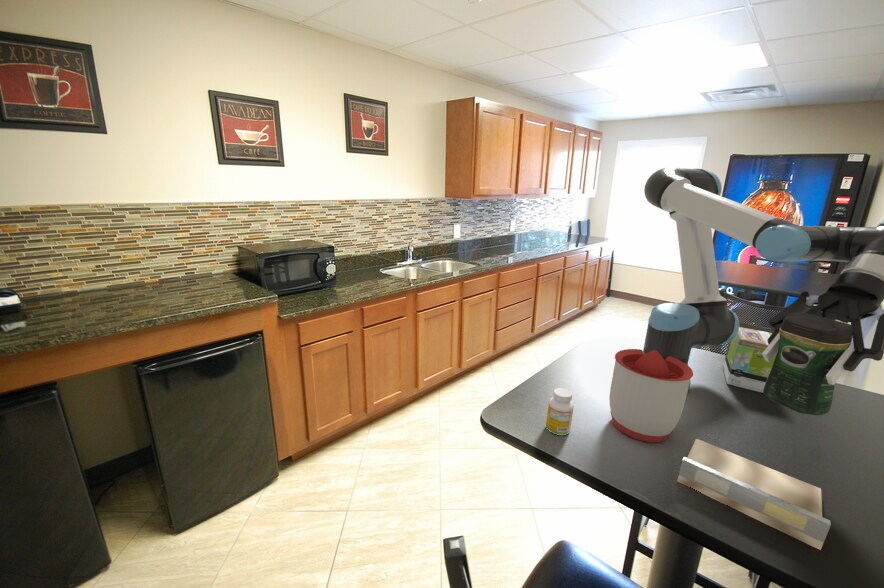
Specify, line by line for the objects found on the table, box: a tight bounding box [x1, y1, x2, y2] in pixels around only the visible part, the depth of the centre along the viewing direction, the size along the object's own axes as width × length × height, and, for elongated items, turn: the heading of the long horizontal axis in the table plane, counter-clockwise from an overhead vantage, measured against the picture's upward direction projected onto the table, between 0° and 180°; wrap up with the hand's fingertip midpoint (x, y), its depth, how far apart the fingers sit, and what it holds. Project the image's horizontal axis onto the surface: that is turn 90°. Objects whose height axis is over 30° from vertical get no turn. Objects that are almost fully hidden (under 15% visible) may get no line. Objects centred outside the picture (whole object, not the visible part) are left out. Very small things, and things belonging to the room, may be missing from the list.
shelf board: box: [676, 438, 824, 551], centre depth 71 cm, size 20×16×2 cm
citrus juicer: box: [609, 348, 694, 443], centre depth 87 cm, size 16×17×20 cm
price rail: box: [678, 456, 832, 544], centre depth 65 cm, size 20×2×4 cm, turn 46°
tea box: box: [722, 326, 777, 394], centre depth 113 cm, size 15×10×15 cm, turn 148°
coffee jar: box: [763, 311, 853, 417], centre depth 73 cm, size 10×8×19 cm
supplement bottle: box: [545, 387, 574, 436], centre depth 85 cm, size 5×5×10 cm
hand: (795, 368), depth 72 cm, fingers closed on coffee jar, 9 cm apart
